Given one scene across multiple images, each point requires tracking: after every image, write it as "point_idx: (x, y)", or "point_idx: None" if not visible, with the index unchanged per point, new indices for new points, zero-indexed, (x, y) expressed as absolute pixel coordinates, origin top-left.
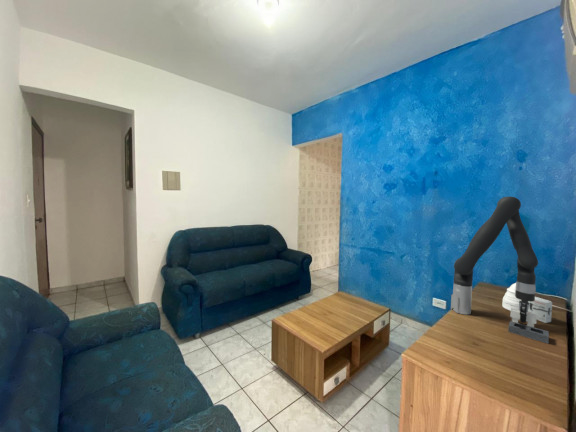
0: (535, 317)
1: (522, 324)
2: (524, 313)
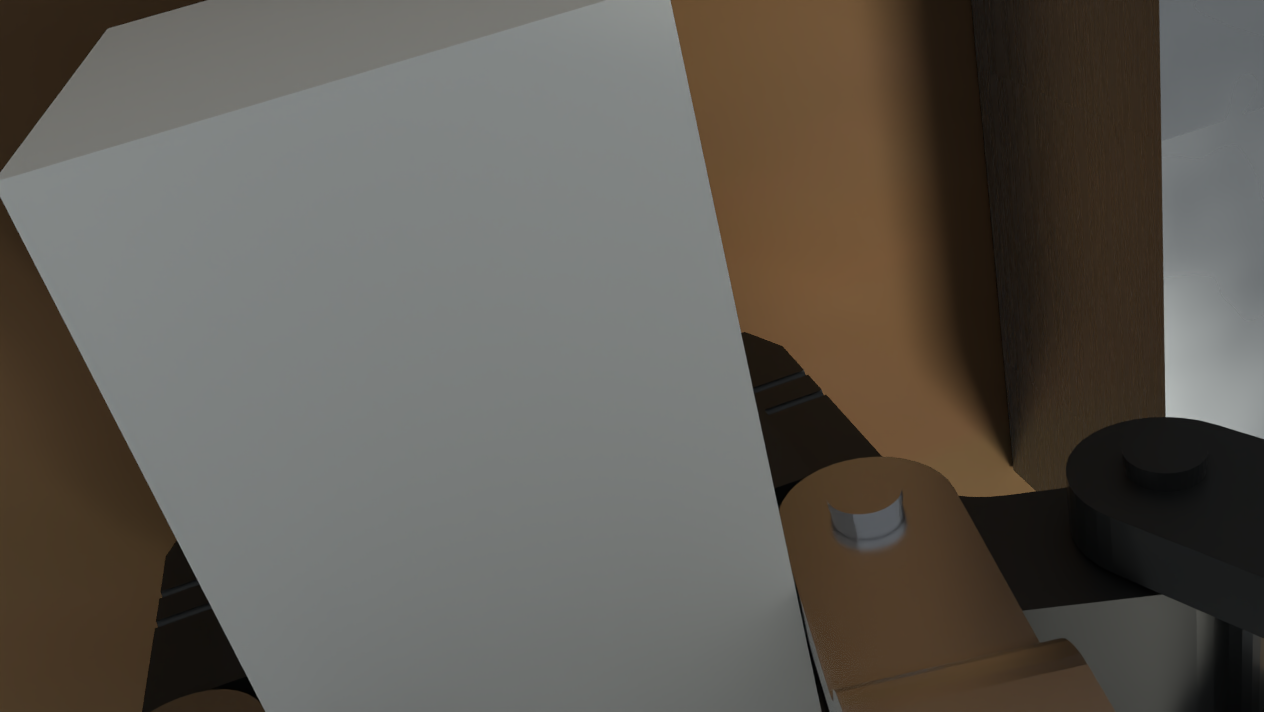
0: (646, 58)
1: (1199, 246)
2: (766, 699)
